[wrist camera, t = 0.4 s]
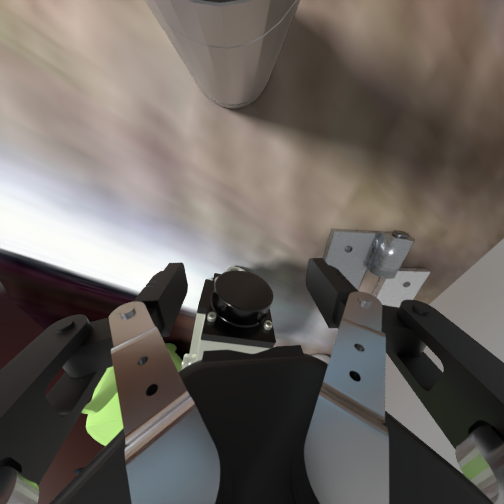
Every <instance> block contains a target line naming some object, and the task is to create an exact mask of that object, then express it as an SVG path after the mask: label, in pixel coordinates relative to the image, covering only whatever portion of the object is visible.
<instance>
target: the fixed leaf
mask: <svg viewBox="0 0 504 504" xmlns="http://www.w3.org/2000/svg"><path fill="white" fill-rule="evenodd" d="M414 241H415V240H414V239H413V238H412V237H410V236H408V234H407V233H405V232H402V231H393V232H385V233H383V232H382V231H365V230H344V229H331V232H330V236H329V239H328V242H327V246H326V249H325V252H324V256H323V259H324V260H325V261H326V263H327V264H328V265H331V266H333V267H335V268H337V269H338V270H339V271H340V272H341V273H342V274H343V275H344V276H345V277H346V279H348V280H349V282H350V283H351V284H352V285H353V286H354V287H355V288H356V289H357V290H358V287H359V285H360V283H361V280H362V278H363V276H364V274H365V271H366V269H369V270H370V271H371V272H372V273H373V274H375V275H377V276H379V277H382V278H386V279H393V278H395V276H396V274H397V272H398V270H399V269H400V267H401V265H402V263H403V261H404V259H405V258H406V256H407V254H408V252H409V250H410V248H411V247H412V245H413V243H414Z"/></svg>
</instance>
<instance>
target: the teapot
mask: <svg viewBox="0 0 504 504" xmlns="http://www.w3.org/2000/svg"><path fill="white" fill-rule="evenodd" d="M165 345H166V347H167V349H168V351H169V354H170V356H171V358H172V360H173V362H174V364H175V366H176V368H177V370H178V372H180V371H181V370H182V362H183V361H182V359H181V358H180V357H179V356H178V354H177V353H175V351H176V349H177V347H176V346H175V345H174V344H171V343H166V344H165ZM81 413H85V414H88V418H87V423H86V429H87V432H88V433H89V434H90V435H91V436H92V437H93V438H94V439H95V440H96V441H98V442H99V443H101V444H103V445H105V446H106V445H107V444H108V443H109V442H110V441H111V440H112V439H113V438H114V437H115V436H116V435H117V434H118V433H119V432H120V431H121V430H122V429H123V422H122V416H121V410H120V404H119V398H118V392H117V386H116V380H115V374H114V368H113V366H112V367H109V368H107V370H106V372H105V373H104V375H103V377H102V378H101V380H100V382H99V384H98V385H97V387H96V389H95V391H94V394H93V398H92V401H91V402H90V403H88V404H87V405H85V407H84V409H83V410H82V412H81Z"/></svg>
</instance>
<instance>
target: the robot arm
mask: <svg viewBox="0 0 504 504" xmlns="http://www.w3.org/2000/svg"><path fill="white" fill-rule="evenodd" d="M145 1H146V3H147V4H148V6H149V8H150V9H151V11H152V12H153V14H154V16H155V17H156V19H157V20H158V22H159V24H160V25H161V27H162V28H163V30H164V32H165V33H166V35H167V36H168V38H169V40H170V41H171V43H172V45H173V46H174V48H175V49H176V51H177V53H178V54H179V56H180V57H181V59H182V61H183V62H184V64H185V65H186V67H187V69H188V70H189V72H190V73H191V75H192V77H193V78H194V80H195V81H196V83H197V85H198V86H199V88H200V89H201V90H202V92H203V93H204V94H205V95H206V96H207V97H208V98H209V99H210V100H212V101H213V102H214V103H216V104H218V105H220V106H222V107H226V108H230V109H231V108H241V107H244V106H247V105H249V104H250V103H252V102H254V101H255V100H256V99H257V98H258V97H259V96H260V95H261V93H262V92H263V90H264V89H265V87H266V85H267V83H268V80H269V78H270V76H271V73H272V71H273V68H274V66H275V63H276V61H277V58H278V56H279V53H280V51H281V48H282V46H283V43H284V40H285V38H286V35H287V33H288V30H289V28H290V25H291V23H292V20H293V17H294V15H295V12H296V10H297V7H298V5H299V2H300V0H145ZM306 285H307V288H308V290H309V292H310V294H311V296H312V298H313V300H314V301H315V303H316V305H317V307H318V309H319V311H320V312H321V314H322V316H323V318H324V320H325V322H326V323H327V325H328V327H329V328H338V329H339V330H338V333H337V337H336V340H335V343H334V347H333V350H332V353H331V357H330V360H329V363H328V364H327V363H326V362H324V361H322V360H320V359H319V358H316V357H314V356H311V355H308V354H304V353H303V351H302V348H301V345H295V346H278V347H274V348H271V349H268V350H265V351H262V352H259V353H255V354H249V353H244V352H239V351H233V350H228V349H227V350H210V351H204V352H203V357H202V360H199V361H196V362H194V363H192V364H190V365H188V366H187V367H185V368H184V369H182V370H181V371H180V372H178V370H177V368H176V366H175V364H174V362H173V360H172V358H171V356H170V354H169V351H168V349H167V347H166V345H165V343H164V341H163V339H162V337H168V336H169V335H170V332H171V330H172V327H173V325H174V323H175V320H176V318H177V315H178V313H179V311H180V308H181V306H182V304H183V301H184V299H185V296H186V294H187V290H188V284H187V279H186V274H185V268H184V265H183V263H169V264H168V266H167V267H166V268H165V270H164V271H160V272H159V273H157V274H156V275H154V276H153V277H152V279H151V280H150V281H149V283H148V284H147V285H146V287H144V289H143V290H142V291H141V293H140V294H139V295H138V296H137V298H136V299H135V300H134V302H130V303H126V304H124V305H122V306H120V307H118V308H117V309H115V310H114V311H113V312H112V313H111V314H110V316H109V318H105V319H102V320H98V321H94V322H89V320H88V319H87V317H86V316H85V315H73V316H69V317H66V318H64V319H62V320H59V321H57V322H56V323H54V324H52V325H51V326H49V327H48V328H47V329H46V330H45V331H44V332H43V333H41V334H40V335H39V336H38V337H37V338H36V339H35V340H34V341H33V342H31V343H30V344H29V345H28V346H27V347H26V348H25V349H24V350H22V351H21V352H20V353H19V354H18V355H17V356H16V357H15V358H14V359H12V361H10V362H9V363H8V364H7V365H6V366H5V367H4V368H2V369H1V370H0V504H37V501H38V497H39V489H38V485H39V483H40V481H41V480H42V478H43V476H44V474H45V473H46V471H47V469H48V468H49V466H50V464H51V463H52V461H53V459H54V457H55V456H56V454H57V452H58V451H59V449H60V447H61V446H62V444H63V442H64V441H65V439H66V437H67V436H68V434H69V432H70V431H71V429H72V427H73V426H74V424H75V422H76V420H77V419H78V417H79V416H80V414H81V412H82V410H83V409H84V407H85V405H86V404H87V402H88V400H89V398H90V397H91V395H92V394H93V392H94V390H95V389H96V387H97V385H98V384H99V382H100V380H101V378H102V377H103V375H104V373H105V372H106V370H107V368H109V367H112V366H113V368H114V374H115V380H116V386H117V392H118V398H119V404H120V410H121V416H122V422H123V429H122V430H121V431H120V432H119V433H118V434H117V435H116V436H115V437H114V438H113V439H112V440H111V441H110V442H109V443H108V444H107V445H106V446H105V447H104V448H103V449H102V451H100V452H99V454H98V455H97V456H96V457H95V458H94V459H93V460H92V461H91V462H90V463H89V464H88V465H87V466H86V467H85V468H84V469H83V470H82V471H81V472H80V473H79V474H78V475H77V476H76V477H75V478H74V479H73V480H72V481H71V482H70V483H69V484H68V485H67V486H66V487H65V488H64V489H63V490H62V491H61V492H60V494H59V495H58V496H57V497H56V498H55V499H54V500H53V501H52V502H51V503H50V504H504V363H503V362H502V361H501V360H499V359H498V358H497V357H496V356H494V355H493V354H492V353H490V352H489V351H488V350H487V349H485V348H484V347H483V346H482V345H480V344H479V343H478V342H477V341H475V340H474V339H473V338H471V337H470V336H469V335H468V334H466V333H465V332H464V331H462V330H461V329H460V328H459V327H458V326H456V325H455V324H454V323H452V322H451V321H450V320H449V319H447V318H446V317H445V316H444V315H442V314H441V313H440V312H438V311H437V310H436V309H434V308H433V307H431V306H430V305H428V304H425V303H423V302H420V301H416V300H403V301H402V302H401V304H400V307H393V306H387V305H382V303H381V302H380V301H379V300H378V299H377V298H376V297H374V296H372V295H370V294H368V293H365V292H359V291H358V290H357V289H356V288H355V287H354V286H353V285H352V284H351V283H350V282H349V280H348V279H346V277H345V276H344V275H343V274H342V273H341V272H340V271H339V270H338V269H337V268H335V267H333V266H331V265H328V264H327V263H326V261H325V260H324V259H323V258H310V259H309V262H308V269H307V276H306ZM426 345H427V346H428V347H429V348H430V349H431V350H432V352H434V353H435V355H436V356H437V357H438V358H439V359H440V360H441V362H442V364H443V367H444V372H442V371H441V370H440V369H439V368H438V367H437V366H436V365H435V364H434V363H433V362H432V360H431V359H430V358H429V357H428V356H427V355H426V354H425V353H424V352H423V350H424V348H425V347H426ZM386 353H387V354H388V356H389V357H390V358H391V360H392V361H393V362H394V364H395V365H396V367H397V368H398V370H399V371H400V372H401V374H402V375H403V376H404V378H405V379H406V381H407V382H408V384H409V385H410V386H411V388H412V389H413V391H414V392H415V393H416V395H417V396H418V398H419V399H420V400H421V402H422V403H423V405H424V406H425V408H426V409H427V410H428V412H429V413H430V415H431V416H432V417H433V419H434V420H435V422H436V423H437V424H438V426H439V427H440V428H441V430H442V431H443V433H444V434H445V436H446V437H447V438H448V440H449V441H450V443H451V444H452V445H453V447H454V448H455V450H456V458H457V461H458V464H459V466H460V468H461V470H462V472H463V474H462V473H460V472H459V471H458V470H457V469H456V468H454V467H453V466H452V465H451V464H450V463H448V462H447V461H446V460H445V459H444V458H442V457H441V456H440V455H439V454H437V453H436V452H435V451H434V450H433V449H431V448H430V447H429V446H428V445H426V444H425V443H424V442H423V441H422V440H420V439H419V438H418V437H417V436H416V435H414V434H413V433H412V432H411V431H409V430H408V429H407V428H406V427H405V426H403V425H402V424H401V423H400V422H398V421H397V420H396V419H395V418H394V417H392V416H391V415H390V414H388V413H387V412H386V411H385V362H386ZM62 367H63V368H64V370H65V371H66V372H65V373H64V374H63V376H62V377H61V378H60V379H59V381H58V382H57V383H56V384H55V386H54V387H53V388H52V389H51V391H50V392H49V393H48V395H47V396H46V397H45V391H46V388H47V386H48V384H49V383H50V381H51V380H52V379H53V378H54V376H55V375H56V374H57V373H58V371H59V370H60V369H61V368H62Z"/></svg>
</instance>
